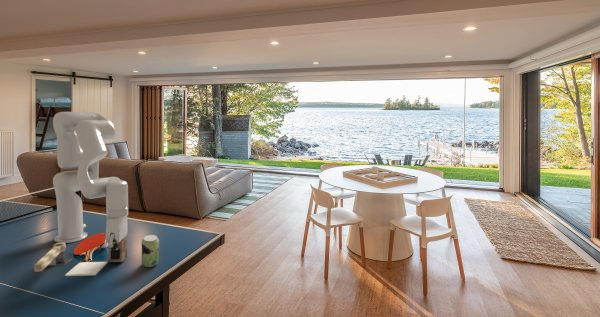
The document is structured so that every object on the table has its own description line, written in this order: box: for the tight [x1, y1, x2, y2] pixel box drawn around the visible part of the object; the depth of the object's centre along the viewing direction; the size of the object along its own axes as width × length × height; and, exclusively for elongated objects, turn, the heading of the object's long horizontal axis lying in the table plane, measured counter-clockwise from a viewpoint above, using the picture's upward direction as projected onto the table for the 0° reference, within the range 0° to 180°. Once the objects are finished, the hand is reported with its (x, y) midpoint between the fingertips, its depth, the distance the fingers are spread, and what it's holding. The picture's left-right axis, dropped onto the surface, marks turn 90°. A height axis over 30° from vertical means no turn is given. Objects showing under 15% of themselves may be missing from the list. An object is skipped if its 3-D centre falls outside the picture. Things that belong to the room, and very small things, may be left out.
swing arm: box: [33, 242, 67, 273], centre depth 120 cm, size 20×4×6 cm, turn 17°
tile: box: [64, 261, 108, 277], centre depth 123 cm, size 10×10×1 cm
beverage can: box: [141, 234, 160, 268], centre depth 127 cm, size 6×7×12 cm
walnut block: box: [107, 237, 128, 263], centre depth 130 cm, size 5×5×8 cm
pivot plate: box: [46, 257, 73, 267], centre depth 128 cm, size 6×6×1 cm
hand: (118, 255), depth 130 cm, fingers closed on walnut block, 5 cm apart
